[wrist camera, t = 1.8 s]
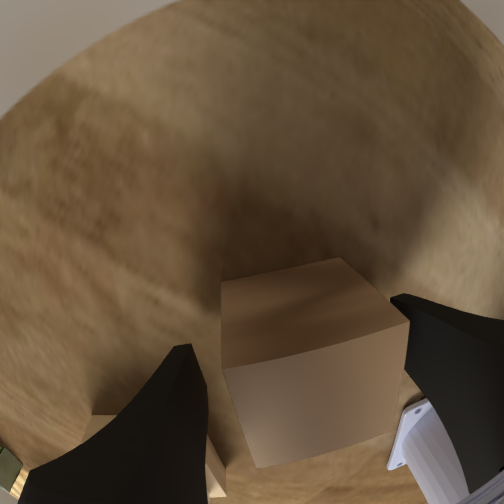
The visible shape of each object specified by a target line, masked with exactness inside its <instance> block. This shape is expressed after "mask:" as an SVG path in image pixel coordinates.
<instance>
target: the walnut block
mask: <svg viewBox="0 0 504 504" xmlns="http://www.w3.org/2000/svg"><path fill="white" fill-rule="evenodd" d="M409 326H410V321H409V320H408V319H407V318H406V317H405V316H404V315H403V314H402V313H401V312H400V311H399V310H398V309H397V308H396V307H395V306H394V305H392V304H391V303H390V302H389V301H388V300H387V299H386V298H385V297H384V296H383V295H382V294H381V293H379V292H378V291H377V290H376V289H375V288H374V287H373V286H372V285H371V284H370V283H368V282H367V281H366V280H365V279H364V278H363V277H362V276H361V275H360V274H358V273H357V272H356V271H355V270H354V269H353V268H352V267H351V266H349V265H348V264H347V263H346V262H345V261H344V260H343V259H341V258H340V257H337V258H332V259H328V260H323V261H319V262H314V263H309V264H305V265H300V266H296V267H291V268H286V269H281V270H277V271H272V272H267V273H262V274H257V275H253V276H248V277H243V278H238V279H233V280H228V281H223V282H221V350H222V371H223V375H224V378H225V381H226V384H227V387H228V390H229V393H230V396H231V399H232V402H233V405H234V407H235V410H236V413H237V416H238V419H239V422H240V425H241V427H242V430H243V433H244V436H245V438H246V441H247V444H248V446H249V449H250V452H251V454H252V457H253V460H254V462H255V465H256V467H257V468H262V467H268V466H273V465H278V464H283V463H288V462H293V461H297V460H301V459H306V458H310V457H313V456H317V455H321V454H325V453H328V452H332V451H335V450H338V449H342V448H345V447H348V446H351V445H354V444H357V443H360V442H363V441H366V440H369V439H371V438H374V437H377V436H379V435H382V434H385V433H387V432H390V431H391V430H392V426H393V422H394V418H395V413H396V409H397V404H398V399H399V394H400V389H401V383H402V378H403V372H404V365H405V359H406V351H407V344H408V335H409Z"/></svg>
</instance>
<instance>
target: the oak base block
mask: <svg viewBox="0 0 504 504" xmlns="http://www.w3.org/2000/svg"><path fill="white" fill-rule="evenodd" d="M116 416H117V415H91V418H90V420H89V423H88V425H87V428H86V431H85V433H84V436H83V438H82V441H81V443H83V442H85V441H86V440H88V439H89V438H90V437H92V436H93V435H94V434H96V433H97V432H98V431H99V430H101V429H102V428H103V427H104V426H106V425H107V424H108V423H109V422H110V421H112V420H113V419H114V418H115V417H116ZM205 474H206V486H207V490H208V492H209V493H210V497H224V496H227V489H226V471H225V467H224V465H223V464H222V462H221V460H220V458H219V456H218V454H217V452H216V450H215V448H214V446H213V444H212V442H211V440H210V438H209V436H208V434H207V443H206V460H205Z"/></svg>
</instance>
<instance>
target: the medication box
mask: <svg viewBox="0 0 504 504" xmlns="http://www.w3.org/2000/svg"><path fill="white" fill-rule="evenodd" d="M22 466H23V464H22V463H21V462H20V461H19V460H18V459H17V458H16V457H15V456H14V455H13V454H12V453H11V452H10V451H9V450H7V449H6V448H5V447H0V490H3V491H6V492H10V491H11V488H12V486H13V484H14V482H15V481H16V479H17V477H18V475H19V473H20V470H21V468H22Z"/></svg>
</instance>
